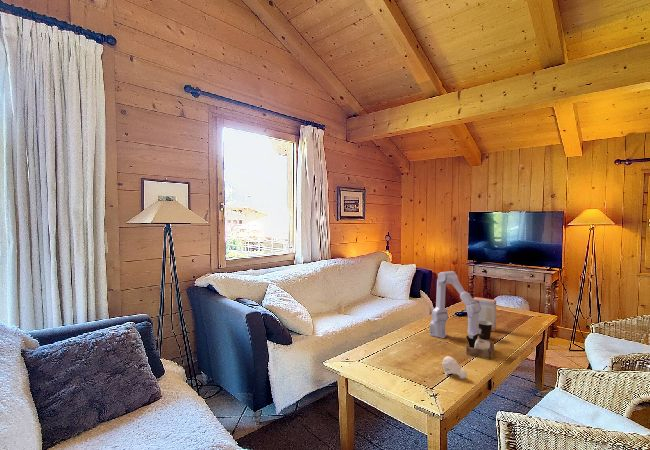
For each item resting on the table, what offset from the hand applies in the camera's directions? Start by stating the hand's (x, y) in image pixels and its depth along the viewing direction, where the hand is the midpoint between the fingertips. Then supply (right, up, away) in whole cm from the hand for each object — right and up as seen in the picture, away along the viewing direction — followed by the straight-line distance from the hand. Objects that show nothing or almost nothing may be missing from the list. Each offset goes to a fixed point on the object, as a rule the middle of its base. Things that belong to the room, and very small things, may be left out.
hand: (472, 346), depth 196 cm
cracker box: (+24, -1, +36) cm, 43 cm away
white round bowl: (+4, -2, -2) cm, 5 cm away
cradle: (+3, -3, -2) cm, 4 cm away
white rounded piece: (-22, -4, -30) cm, 37 cm away
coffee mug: (+16, -2, +21) cm, 26 cm away
